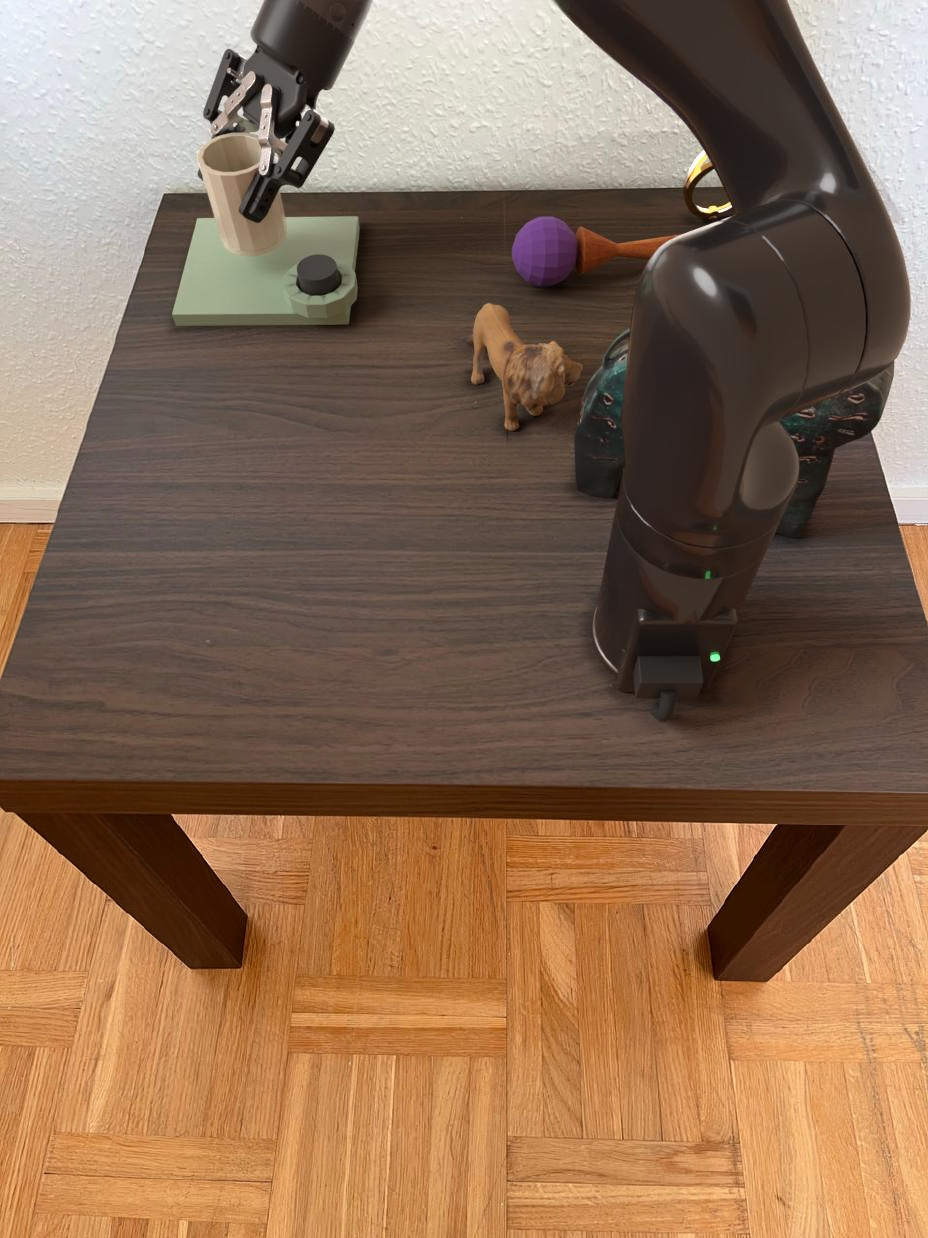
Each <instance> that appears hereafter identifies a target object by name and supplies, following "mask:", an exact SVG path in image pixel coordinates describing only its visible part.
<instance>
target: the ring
mask: <svg viewBox="0 0 928 1238" xmlns="http://www.w3.org/2000/svg"><path fill="white" fill-rule="evenodd" d="M708 159H709V158H708V156H707V155H706V153H705V151H704V150H702V151H701V152H700V153H699V154H698V155H697V156H696V158H695V159H694V161H693V162H692V164H691V165H690V168H689V169H688V171H687V173H686V176H685V178H684V180H683V187H682V190H683V191H682V193H683V194H682V195H683V199H684V202H685V204H686V207H687V209H688V211H689V212H690V213H691V214H692V215H693V216H695V217H698V218H700V219H706V220H709V221H710V222H716V221H718V219H719V218H722V217H725V216H728V215H730V214H732V213H734V211H733V208H732V206H731V203H730V201H729V202H727V203H726V204H724V205H721V206H716V205H711V206H708V208H704V207H702V206H699V205H697V204H696V203H694V200H693V195H694V191H695V188H696V187H697V186H698V184H699V183H700V181H702V179H703V178H704V177H706V176H707V175H708V174H710V172H712V171H715V169H714V167H713V165H712V163H711V161H710V160H709V161H708V162H706V161H707V160H708ZM705 162H706V163H705Z"/></svg>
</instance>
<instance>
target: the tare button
mask: <svg viewBox="0 0 928 1238" xmlns="http://www.w3.org/2000/svg"><path fill="white" fill-rule="evenodd" d="M297 274H298V279H299V284H300V288H301V289H302V291H303V292H304V293H306V294H308V295H311V296H323V295H326V294H329V293H331V292H334V291H335V290H336V289H337V287H338V286H339V275H338V269H337V264H336V262H335V260H334V259H333V258H331V257H329V256H327V255H322V254H316V255H311V256H308V257H306V258H304V259H302V260H301V261H300V262H299V264H298V265H297Z"/></svg>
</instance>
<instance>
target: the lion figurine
mask: <svg viewBox="0 0 928 1238" xmlns="http://www.w3.org/2000/svg"><path fill="white" fill-rule="evenodd" d="M474 319H475V320H474V324H473V328H472V334H471V335H466V336H463V337H461V338H460V341H461V342H462V343H463V344H465V345H469V344H472V343H473V350H474V355H473V358H472V362H473V364H472V366H473V367H472V373H471V377H470V381H471V383H472V384H473V385H476V386H478V385H480V384H484V383H485V375H484V372H483V355H484V353H485V351H486V350H487V356H488V359H489V363H490V365H491V368H492V369H493V371H494V373H495V375H496V377H498V378H499V380H500V381H501V385H502V394H503V403H504V413H505V414H504V415H505V417H504V428H505V429H506V430H507V431H511V432H515V431H516V430H518V429H519V428H520V423H519V415H518V413H517V406H518V404H519V405H522V406H524V407H525V410H526V411H527V412H528V413H529V414H530V415H531V416H534V417H537V416H540V415H541V414H542V413H543V411H544V409H543V408H544V406H546V405H554V404H556V403H559V402H560V400H562V398H563V397H564V396H565V394H566V392H565V387H566V386H567V387H573V385H574V384H575V382H576V381H577V380H579V378H580V376H581V372H582V371H583V370H584V369H583V367H584V366H583V365H582V364H581V363H580V362H575V361H573V360H571V359H570V357H569V356H568V355H566V354H565V353H564V351H565V350H564V349H563V347H562V346H560V345H558V342H557V341H555V340H552V341H550V342H549V343H540V342H538V344H534V343H532V344H526V343H523V341H522V340H521V338H520V337H518V335H517V334H516V333H515V332H514V330H513V328H512V326H511V325H512V324H511V317H510V314H509V312H508V310H507V309H506V308H504V307H503V306H502V305H500V304H493V303H491V302H488V303H485V304H483V306H482V308H481V309H480V310H479V311H478V313H477V314H476V316H475V318H474Z"/></svg>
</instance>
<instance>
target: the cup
mask: <svg viewBox="0 0 928 1238" xmlns="http://www.w3.org/2000/svg"><path fill="white" fill-rule="evenodd" d="M258 135H259V134H258ZM258 135H257V134H254V133H252V132H250V133H246V132H242V133H229V134H224V135H220V136H217V137H215V138H213V139H212V140H211V139H209V140H208V141H206V142H205V143H204V144H203V145H202V146H201V147H200V148H199V149H198V154H197V156H196V161H197V164H198V167H199V168H200V171H201V174H202V178H203V181H202V182H203V185H204V187H205V191H206V194H207V198H208V201H209V204H210V208H211V212H212V215H213V218H214V219H215V222H216V226H217V229H218V233H219V235H220V238H221V242H222V244H223V246H224V247H225V248H226V249H227V250H228V251H230V252H231V253H233V254H236V255H240V256H259V255H263V254H267V253H269V252H272V251H273V250H275V249H277V248H278V247H279V246H281V245H282V244H283V242H284V241H285V239H286V237H287V233H288V230H287V222H286V218H285V217H286V214H285V208H284V205H283V200H282V195H281V190H280V189H279V191H278V193H277V195H276V197H275V199H274V201H273V204H272V206H271V208H270V209H269V212H268V214H267V216H266V217H265V218H264V219H263V220H262V221H261V222H260V223H255V222H253V221H251V220H248V219H246V218H244V217H243V216H242V215H241V214H240V213H239V207H240V205H241V203H242V200H243V198H244V196H245V194H246V192H247V190H248V188H249V185H250V183H251V181H252V179H253V177H254V175H255V173H256V172H257V173H259V163H260V155H261V146H260V144H259V142H258ZM259 174H260V173H259Z"/></svg>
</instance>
